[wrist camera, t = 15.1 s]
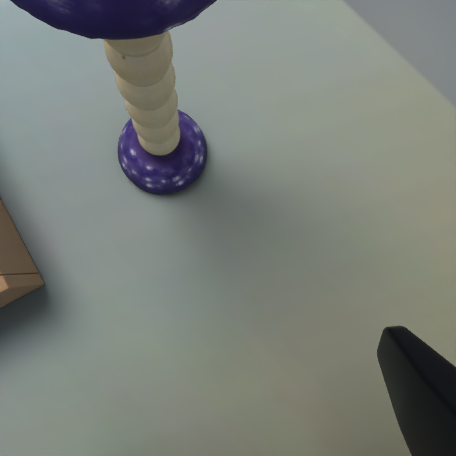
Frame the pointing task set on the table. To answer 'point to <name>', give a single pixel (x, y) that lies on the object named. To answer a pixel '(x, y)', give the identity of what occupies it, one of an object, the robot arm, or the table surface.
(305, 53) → the table surface
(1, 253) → the box
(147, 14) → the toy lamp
